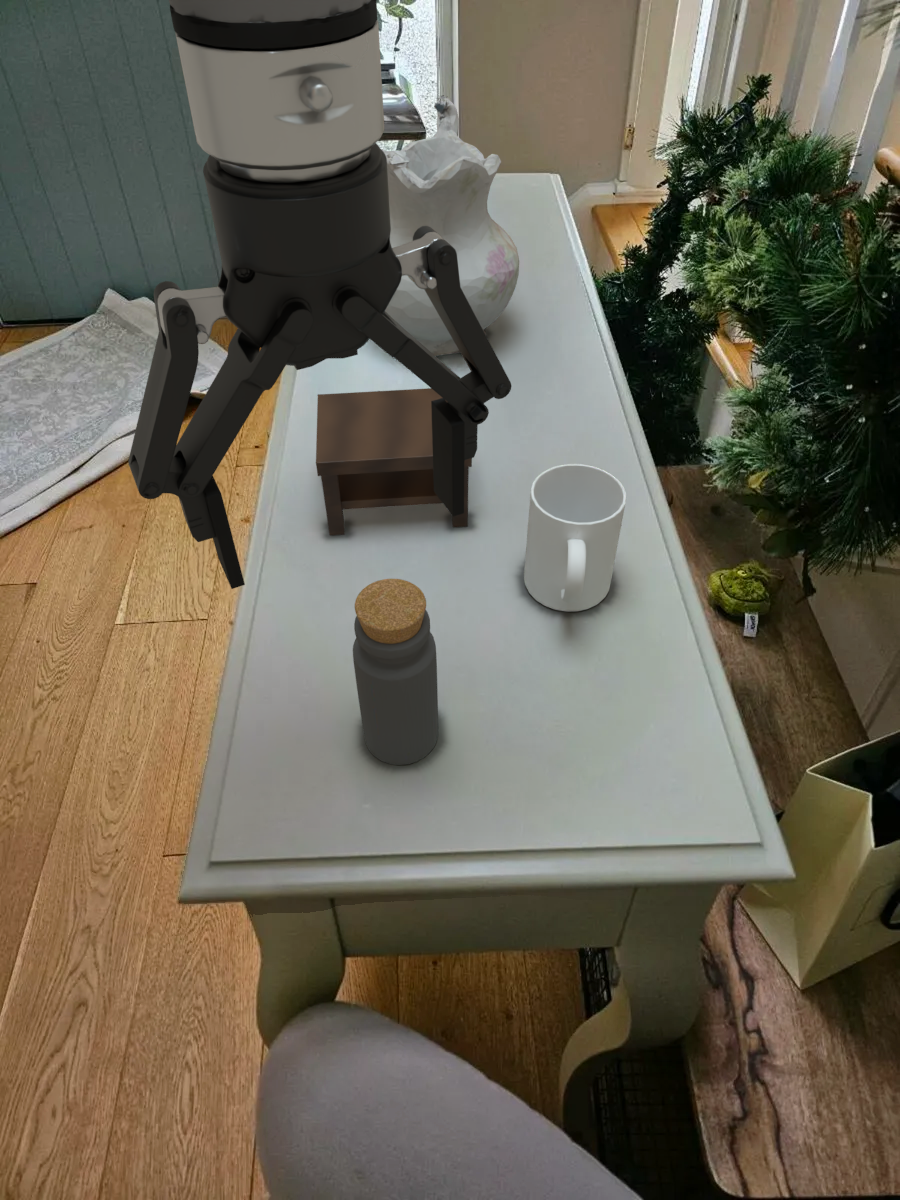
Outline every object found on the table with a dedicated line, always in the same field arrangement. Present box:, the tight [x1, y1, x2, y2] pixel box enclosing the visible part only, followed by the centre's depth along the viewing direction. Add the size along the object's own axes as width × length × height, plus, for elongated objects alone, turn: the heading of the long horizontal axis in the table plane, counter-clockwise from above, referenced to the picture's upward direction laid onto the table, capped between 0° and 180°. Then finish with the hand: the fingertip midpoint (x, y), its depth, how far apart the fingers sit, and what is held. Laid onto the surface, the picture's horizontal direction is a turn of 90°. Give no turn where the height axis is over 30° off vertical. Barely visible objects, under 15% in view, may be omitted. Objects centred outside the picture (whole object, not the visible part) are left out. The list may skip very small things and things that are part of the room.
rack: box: [315, 387, 473, 536], centre depth 84 cm, size 14×11×9 cm
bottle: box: [352, 578, 439, 766], centre depth 62 cm, size 6×6×15 cm
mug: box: [523, 463, 627, 612], centre depth 73 cm, size 12×8×10 cm, turn 174°
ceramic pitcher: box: [380, 94, 520, 357], centre depth 101 cm, size 22×20×25 cm
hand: (344, 536), depth 50 cm, fingers open, 13 cm apart
